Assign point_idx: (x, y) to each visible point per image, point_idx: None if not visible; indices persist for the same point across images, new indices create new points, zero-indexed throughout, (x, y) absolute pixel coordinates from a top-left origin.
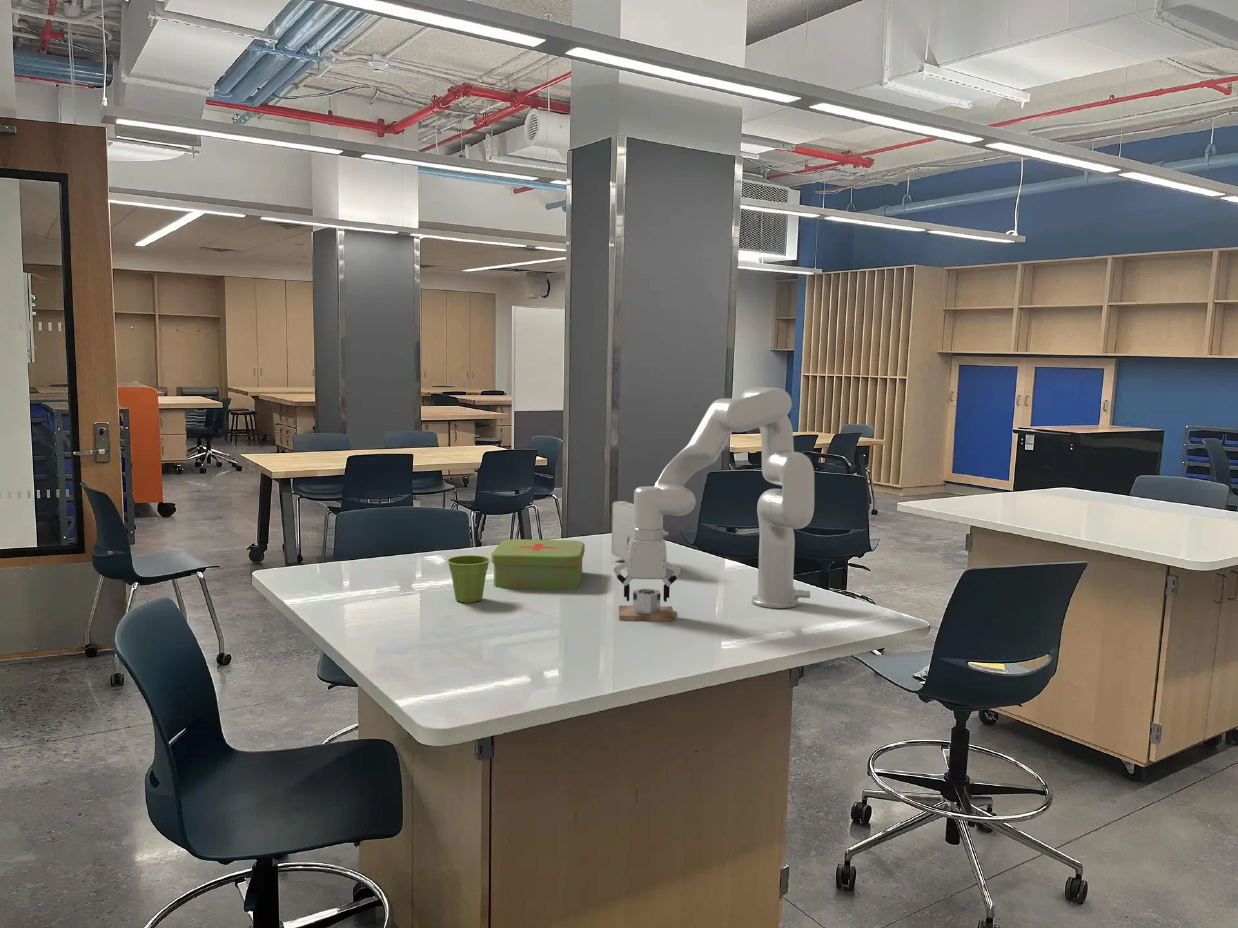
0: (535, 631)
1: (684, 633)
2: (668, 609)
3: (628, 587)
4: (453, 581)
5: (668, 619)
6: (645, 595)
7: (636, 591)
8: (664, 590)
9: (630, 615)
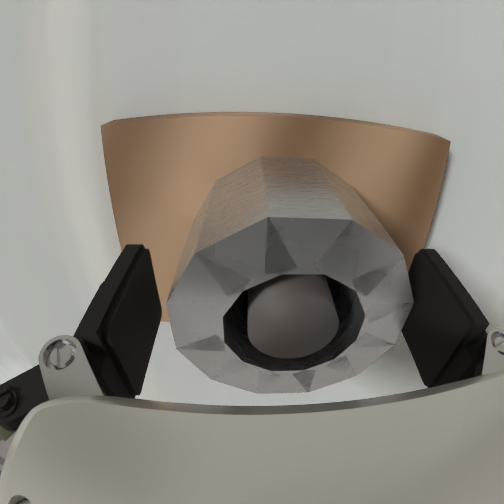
0: (5, 365)
1: (364, 397)
2: (415, 207)
3: (132, 392)
4: None
5: None
6: (270, 391)
7: (199, 321)
8: (419, 368)
9: None
